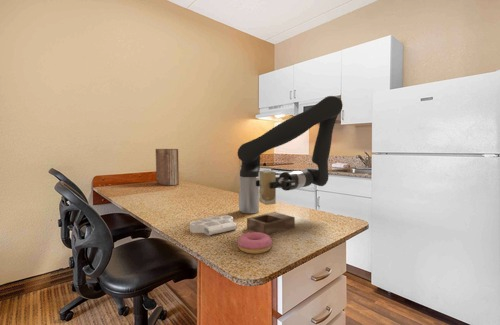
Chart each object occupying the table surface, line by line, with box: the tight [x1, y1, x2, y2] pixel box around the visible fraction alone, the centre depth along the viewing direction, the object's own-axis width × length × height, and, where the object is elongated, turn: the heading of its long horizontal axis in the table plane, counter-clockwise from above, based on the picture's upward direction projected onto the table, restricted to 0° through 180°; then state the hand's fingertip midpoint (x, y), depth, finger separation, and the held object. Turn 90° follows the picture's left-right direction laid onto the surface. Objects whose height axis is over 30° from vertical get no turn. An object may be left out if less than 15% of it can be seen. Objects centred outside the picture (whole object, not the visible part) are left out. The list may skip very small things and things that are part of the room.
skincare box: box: [259, 169, 277, 206], centre depth 97 cm, size 6×4×12 cm
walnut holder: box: [246, 211, 296, 236], centre depth 99 cm, size 11×15×4 cm
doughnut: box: [236, 231, 273, 255], centre depth 80 cm, size 11×11×4 cm
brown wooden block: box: [155, 148, 180, 187], centre depth 218 cm, size 25×9×30 cm, turn 41°
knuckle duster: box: [189, 214, 238, 237], centre depth 99 cm, size 3×18×15 cm
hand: (263, 184), depth 96 cm, fingers closed on skincare box, 7 cm apart
